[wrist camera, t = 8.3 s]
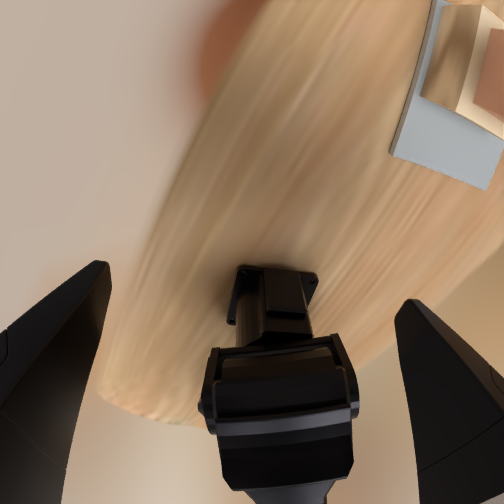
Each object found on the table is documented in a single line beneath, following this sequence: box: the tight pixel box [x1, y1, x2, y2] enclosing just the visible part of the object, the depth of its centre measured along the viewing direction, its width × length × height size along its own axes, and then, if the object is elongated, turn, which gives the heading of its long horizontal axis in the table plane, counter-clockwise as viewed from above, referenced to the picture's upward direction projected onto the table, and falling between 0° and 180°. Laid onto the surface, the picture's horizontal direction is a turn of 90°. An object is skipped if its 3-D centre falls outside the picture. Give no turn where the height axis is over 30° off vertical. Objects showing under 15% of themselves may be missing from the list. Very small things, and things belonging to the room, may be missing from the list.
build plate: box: [389, 0, 504, 191], centre depth 16 cm, size 12×10×1 cm
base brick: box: [420, 5, 504, 141], centre depth 13 cm, size 7×7×4 cm
